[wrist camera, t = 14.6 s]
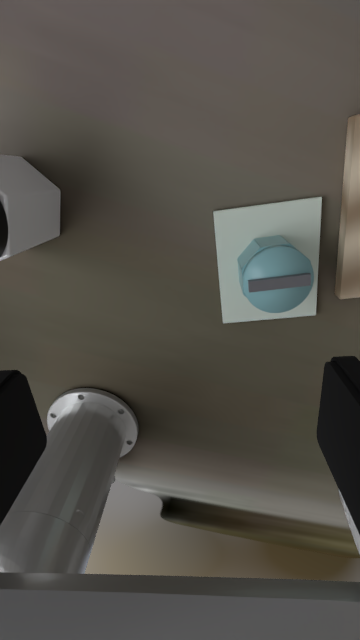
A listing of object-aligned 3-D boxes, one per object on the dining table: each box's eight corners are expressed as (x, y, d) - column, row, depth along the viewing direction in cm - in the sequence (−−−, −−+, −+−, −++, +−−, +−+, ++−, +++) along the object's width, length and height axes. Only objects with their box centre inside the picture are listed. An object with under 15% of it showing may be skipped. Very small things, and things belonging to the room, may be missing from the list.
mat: (314, 312, 34) (315, 315, 33) (222, 321, 35) (223, 323, 35) (319, 196, 29) (321, 197, 28) (213, 211, 30) (213, 211, 30)
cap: (298, 232, 30) (317, 244, 25) (298, 290, 32) (314, 311, 27) (236, 241, 31) (241, 253, 26) (240, 297, 33) (246, 318, 28)
